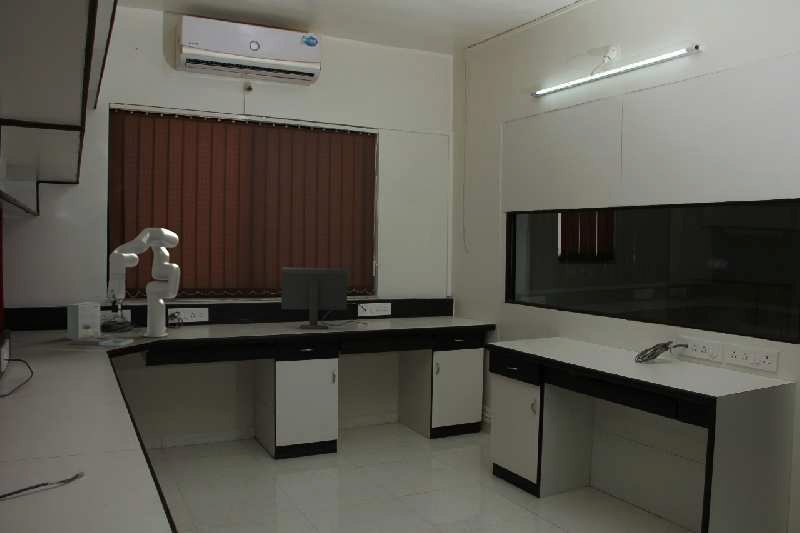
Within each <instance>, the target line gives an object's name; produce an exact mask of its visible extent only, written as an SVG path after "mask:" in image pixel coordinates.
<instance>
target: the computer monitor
mask: <svg viewBox="0 0 800 533" xmlns="http://www.w3.org/2000/svg"><path fill="white" fill-rule="evenodd" d="M348 272H349V270H348V268H335V267H334V268H331V267H330V268H329V267H328V268H325V267H322V268H321V267H286V266H285V267H284V266H283V267H281V299H280V300H281V301H280V302H281V303H280V304H281V306H280V307H281V310H309V319H308V320H309V323H308V324H307V323H305V324H304V323H303V324H301V325H299V329H300V328H320V329H319V330H326V329H328V326H327V325H328V324H319V323H318V321H319V320H318V318H319V315H318V314H319V310H322V311H347V310H348V305H347V304H348V276H349V275H348V274H349V273H348Z"/></svg>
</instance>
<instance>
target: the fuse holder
mask: <svg viewBox="0 0 800 533" xmlns="http://www.w3.org/2000/svg"><path fill="white" fill-rule="evenodd" d="M90 338H91V339H83V337H82V338H78V339H70V345H83V346H84V345H85V346H87V345H89V346H99V342H103V341H107V340H110V339H116V336H111V335H109V334H108V335H107V334H105V335H103V336H101V335H100V336H97V335H90Z"/></svg>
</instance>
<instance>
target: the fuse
mask: <svg viewBox="0 0 800 533" xmlns="http://www.w3.org/2000/svg"><path fill="white" fill-rule="evenodd" d="M90 330H91V325H83V339H91V338H90Z"/></svg>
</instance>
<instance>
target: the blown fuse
mask: <svg viewBox="0 0 800 533" xmlns="http://www.w3.org/2000/svg"><path fill="white" fill-rule="evenodd" d="M115 301H116V300H115ZM117 305H118V313H112V319H121V318H122V314H121V313H122V312H121V300H118V304H117Z"/></svg>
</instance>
